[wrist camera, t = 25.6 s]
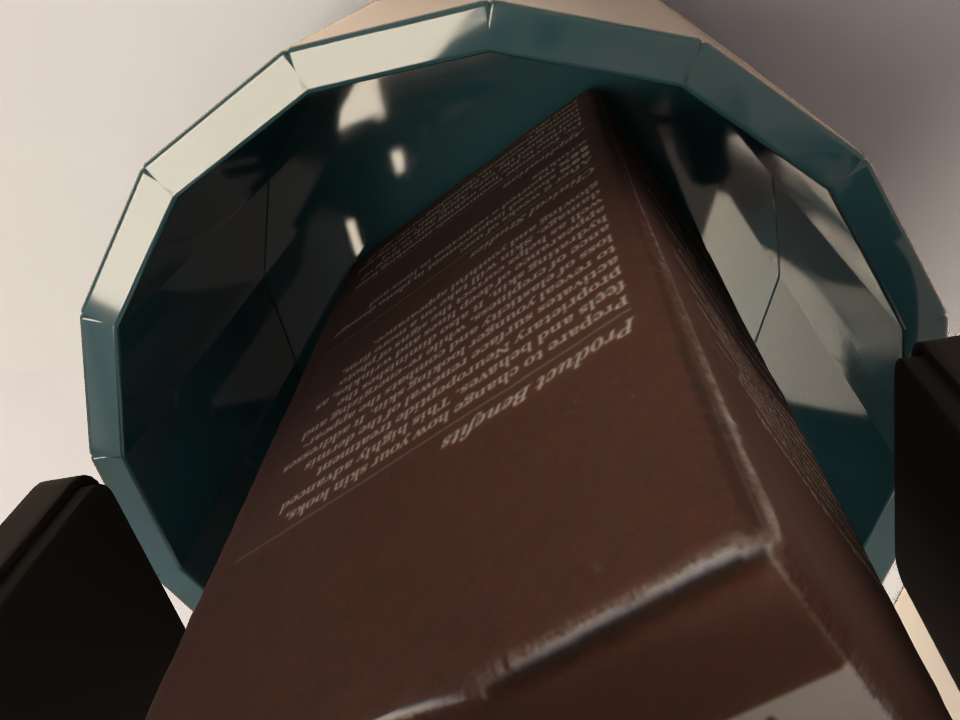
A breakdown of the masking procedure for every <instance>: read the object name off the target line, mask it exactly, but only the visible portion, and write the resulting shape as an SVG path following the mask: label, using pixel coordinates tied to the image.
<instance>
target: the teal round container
mask: <svg viewBox="0 0 960 720" xmlns="http://www.w3.org/2000/svg"><path fill="white" fill-rule="evenodd" d="M588 89H593V90H595V91H596V92H598V93H599V94H601V95H602V96H603V98H604V99H605V101H606V102H607V104H608V105H609V107H610V108H611V110H612V112H613V113H614V115H615V116H616V118H617V119H618V121H619V122H620V124H621V125H622V127H623V128H624V130H625V131H626V133H627V134H628V135H629V137H630V138H631V140H632V141H633V143H634V144H635V146H636V147H637V149H638V150H639V152H640V153H641V155H642V156H643V158H644V159H645V161H646V162H647V164H648V165H649V166H650V168H651V169H652V171H653V172H654V173H655V175H656V176H657V178H658V179H659V181H660V182H661V184H662V185H663V187H664V188H665V190H666V191H667V193H668V194H669V196H670V197H671V199H672V200H673V202H674V203H675V204H676V206H677V207H678V209H679V210H680V212H681V213H682V215H683V216H684V217H685V219H686V220H687V222H688V223H689V225H690V226H691V228H692V229H693V231H694V232H695V233H696V235H697V236H698V238H699V239H700V241H701V242H702V244H703V245H704V246H705V248H706V249H707V251H708V252H709V254H710V255H711V258H712V260H713V262H714V264H715V266H716V267H717V269H718V271H719V274H720V276H721V278H722V279H723V281H724V284H725V286H726V288H727V290H728V292H729V294H730V296H731V298H732V300H733V302H734V304H735V306H736V308H737V311H738V313H739V315H740V316H741V318H742V320H743V322H744V324H745V326H746V328H747V330H748V332H749V333H750V335H751V337H752V339H753V341H754V343H755V344H756V346H757V348H758V350H759V352H760V354H761V356H762V358H763V360H764V362H765V364H766V366H767V368H768V370H769V372H770V373H771V375H772V377H773V378H774V380H775V382H776V383H777V385H778V387H779V388H780V390H781V392H782V393H783V395H784V397H785V400H786V402H787V404H788V406H789V408H790V410H791V412H792V414H793V416H794V418H795V420H796V422H797V424H798V426H799V428H800V429H801V431H802V433H803V435H804V437H805V439H806V441H807V444H808V446H809V448H810V450H811V452H812V453H813V455H814V457H815V459H816V460H817V462H818V464H819V466H820V468H821V470H822V472H823V474H824V476H825V478H826V480H827V482H828V484H829V486H830V487H831V489H832V491H833V493H834V495H835V496H836V498H837V500H838V501H839V503H840V505H841V507H842V510H843V511H844V513H845V515H846V517H847V518H848V520H849V522H850V524H851V525H852V527H853V529H854V531H855V533H856V535H857V537H858V538H859V540H860V542H861V544H862V546H863V548H864V550H865V552H866V554H867V556H868V558H869V560H870V562H871V564H872V566H873V568H874V570H875V572H876V574H877V575H878V577H879V579H880V581H881V583H883V581H884V579H885V577H886V576H887V574H888V572H889V570H890V568H891V566H892V564H893V563H894V561H895V559H896V558H895V487H894V369H895V364H896V361H897V360H898V359H900V358H907V357H911V351H912V348H913V346H914V345H915V344H916V343H917V342H922V341H928V340H934V339H940V338H947V324H948V318H947V316H946V309H945V307H944V305H943V303H942V301H941V299H940V297H939V295H938V293H937V291H936V289H935V287H934V285H933V283H932V281H931V279H930V278H929V276H928V274H927V272H926V270H925V268H924V266H923V264H922V262H921V260H920V258H919V256H918V254H917V252H916V250H915V248H914V246H913V244H912V242H911V240H910V238H909V236H908V234H907V232H906V230H905V228H904V226H903V224H902V222H901V220H900V218H899V217H898V215H897V213H896V211H895V209H894V207H893V205H892V203H891V201H890V199H889V197H888V195H887V193H886V191H885V189H884V187H883V185H882V183H881V181H880V179H879V177H878V175H877V173H876V171H875V169H874V167H873V165H872V163H871V162H870V161H869V160H868V159H867V158H866V157H865V155H864V153H862V152H861V151H860V150H858V149H857V148H856V147H854V146H853V145H852V144H851V143H849V142H848V141H847V140H845V139H844V138H843V137H842V136H840V135H839V134H838V133H836V132H835V131H834V130H832V129H831V128H830V127H829V126H827V125H826V124H825V123H823V122H822V121H821V120H820V119H818V118H817V117H816V116H814V115H813V114H812V113H810V112H809V111H808V110H807V109H805V108H804V107H803V106H801V105H800V104H799V103H797V102H796V101H795V100H794V99H792V98H791V97H790V96H788V95H787V94H786V93H785V92H783V91H782V90H781V89H779V88H778V87H777V86H775V85H774V84H773V83H772V82H770V81H769V80H768V79H766V78H765V77H764V76H763V75H761V74H760V73H759V72H757V71H756V70H755V69H753V68H752V67H751V66H750V65H748V64H747V63H746V62H744V61H743V60H742V59H740V58H739V57H738V56H736V55H735V54H733V53H732V52H731V51H729V50H728V49H727V48H725V47H724V46H722V45H721V44H720V43H718V42H717V41H715V40H714V39H713V38H711V37H710V36H709V35H707V34H706V33H704V32H703V31H702V30H700V29H699V28H697V27H696V26H695V25H693V24H692V23H691V22H690V21H688V20H687V19H685V18H684V17H682V16H681V15H679V14H678V13H677V12H675V11H674V10H673V9H671V8H670V7H668V6H667V5H666V4H664V3H663V2H661V1H660V0H376V1H374V2H372V3H370V4H369V5H367V6H365V7H363V8H361V9H359V10H357V11H355V12H354V13H352V14H350V15H348V16H346V17H344V18H342V19H340V20H339V21H337V22H335V23H333V24H331V25H329V26H327V27H325V28H324V29H322V30H320V31H318V32H316V33H314V34H312V35H310V36H308V37H307V38H305V39H303V40H301V41H299V42H297V43H295V44H293V45H292V46H290V47H288V48H286V49H284V50H282V51H281V52H279V53H278V54H277V55H276V56H275V57H273V58H272V59H271V60H270V61H268V62H267V63H266V64H265V65H264V66H262V67H261V68H260V69H259V70H258V71H256V72H255V73H254V74H253V75H251V76H250V77H249V78H248V79H247V80H245V81H244V82H243V83H242V84H241V85H239V86H238V87H237V88H236V89H234V90H233V91H232V92H231V93H230V94H228V95H227V96H226V97H225V98H224V99H222V100H221V101H220V102H219V103H217V104H216V105H215V106H214V107H213V108H211V109H210V110H209V111H208V112H207V113H205V114H204V115H203V116H202V117H200V118H199V119H198V120H197V121H196V122H194V123H193V124H192V125H191V126H189V127H188V128H187V129H186V130H185V131H183V132H182V133H181V134H180V135H179V136H177V137H176V138H175V139H174V140H172V141H171V142H170V143H169V144H168V145H166V146H165V147H164V148H163V149H162V150H160V151H159V152H158V153H157V154H155V155H154V156H153V157H152V158H151V159H149V160H148V161H147V162H146V163H145V164H144V166H143V167H144V168H142V169H141V170H140V172H139V174H138V177H137V179H136V181H135V184H134V186H133V188H132V191H131V193H130V195H129V198H128V200H127V203H126V205H125V207H124V210H123V212H122V214H121V217H120V219H119V221H118V224H117V226H116V228H115V231H114V233H113V235H112V238H111V240H110V243H109V245H108V247H107V250H106V252H105V254H104V257H103V259H102V261H101V264H100V266H99V268H98V271H97V273H96V275H95V278H94V280H93V283H92V285H91V287H90V290H89V292H88V294H87V297H86V299H85V301H84V304H83V306H82V309H81V313H82V314H81V316H80V324H81V337H82V351H83V365H84V379H85V393H86V407H87V421H88V435H89V448H90V454H91V455H92V457H91V458H92V461H93V463H94V465H95V467H96V469H97V471H98V472H99V474H100V476H101V478H102V480H103V482H104V484H105V485H106V486H107V487H108V488H110V490H111V491H112V492H113V494H114V496H115V497H116V499H117V501H118V503H119V505H120V507H121V509H122V511H123V512H124V514H125V516H126V518H127V520H128V522H129V524H130V526H131V528H132V529H133V531H134V533H135V535H136V537H137V539H138V541H139V543H140V544H141V546H142V548H143V550H144V552H145V554H146V556H147V558H148V559H149V561H150V563H151V565H152V567H153V569H154V571H155V573H156V574H157V576H158V578H159V580H160V582H161V583H162V584H163V585H164V586H165V587H166V588H168V589H169V590H170V591H171V592H172V593H173V594H174V595H175V596H176V597H178V598H179V599H180V600H181V601H182V602H183V603H184V604H185V605H186V606H187V607H189V608H190V609H191V610H192V611H193V612H194V610H195V608H196V606H197V604H198V602H199V600H200V598H201V596H202V593H203V591H204V588H205V586H206V584H207V582H208V580H209V578H210V576H211V574H212V572H213V570H214V568H215V565H216V563H217V561H218V559H219V556H220V554H221V552H222V550H223V547H224V545H225V543H226V541H227V539H228V537H229V535H230V534H231V532H232V529H233V526H234V523H235V521H236V519H237V517H238V514H239V512H240V510H241V508H242V506H243V504H244V503H245V501H246V499H247V496H248V493H249V490H250V488H251V486H252V484H253V483H254V481H255V478H256V476H257V473H258V471H259V469H260V466H261V464H262V462H263V460H264V458H265V456H266V454H267V451H268V449H269V447H270V444H271V442H272V440H273V438H274V436H275V434H276V432H277V430H278V427H279V424H280V422H281V420H282V419H283V417H284V415H285V413H286V411H287V409H288V406H289V404H290V403H291V400H292V397H293V395H294V394H295V391H296V388H297V386H298V384H299V382H300V380H301V378H302V375H303V373H304V371H305V369H306V367H307V364H308V362H309V360H310V357H311V355H312V353H313V351H314V349H315V346H316V344H317V341H318V339H319V338H320V336H321V332H322V331H323V328H324V326H325V324H326V322H327V319H328V317H329V315H330V313H331V311H332V309H333V307H334V305H335V302H336V300H337V298H338V296H339V294H340V292H341V290H342V288H343V285H344V283H345V281H346V278H347V276H348V274H349V272H350V269H351V267H352V265H353V264H354V263H356V262H357V261H358V260H359V259H361V258H362V257H363V256H365V255H366V254H367V253H368V252H369V251H371V250H372V249H373V248H374V247H376V246H377V245H378V244H379V243H381V242H382V241H383V240H385V239H386V238H387V237H389V236H390V235H391V234H393V233H394V232H395V231H397V230H398V229H399V228H401V227H402V226H403V225H404V224H406V223H407V222H408V221H410V220H411V219H412V218H414V217H415V216H416V215H417V214H419V213H420V212H421V211H423V210H424V209H425V208H427V207H428V206H429V205H431V204H432V203H433V202H435V201H436V200H437V199H438V198H440V197H441V196H442V195H444V194H445V193H446V192H448V191H449V190H450V189H452V188H453V187H454V186H456V185H457V184H459V183H460V182H461V181H462V180H464V179H465V178H466V177H467V176H469V175H470V174H471V173H473V172H474V171H476V170H477V169H478V168H480V167H481V166H482V165H484V164H485V163H487V162H488V161H489V160H491V159H492V158H493V157H495V156H496V155H498V154H499V153H500V152H502V151H503V150H504V149H506V148H507V147H508V146H510V145H511V144H512V143H513V142H515V141H516V140H517V139H519V138H520V137H521V136H523V135H524V134H525V133H527V132H528V131H529V130H531V129H532V128H534V127H535V126H536V125H538V124H539V123H540V122H542V121H543V120H544V119H546V118H547V117H548V116H550V115H551V114H553V113H554V112H555V111H557V110H558V109H560V108H561V107H562V106H564V105H565V104H567V103H568V102H569V101H571V100H572V99H574V98H575V97H576V96H578V95H579V94H581V93H582V92H583V91H585V90H588Z"/></svg>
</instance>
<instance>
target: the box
mask: <svg viewBox="0 0 960 720" xmlns="http://www.w3.org/2000/svg"><path fill="white" fill-rule="evenodd" d="M145 720H953V719H952V718H951V716H950V714H949V712H948V710H947V708H946V706H945V704H944V702H943V700H942V698H941V696H940V693H939V691H938V689H937V687H936V685H935V683H934V681H933V680H932V678H931V676H930V674H929V672H928V671H927V669H926V667H925V665H924V663H923V662H922V660H921V658H920V656H919V654H918V652H917V651H916V649H915V647H914V645H913V643H912V641H911V639H910V637H909V635H908V633H907V631H906V629H905V627H904V625H903V623H902V621H901V619H900V617H899V615H898V613H897V611H896V609H895V607H894V606H893V604H892V602H891V600H890V598H889V596H888V594H887V593H886V591H885V589H884V587H883V585H882V583H881V581H880V579H879V577H878V575H877V574H876V572H875V570H874V568H873V566H872V564H871V562H870V560H869V558H868V556H867V554H866V552H865V550H864V548H863V546H862V544H861V542H860V540H859V538H858V537H857V535H856V533H855V531H854V529H853V527H852V525H851V524H850V522H849V520H848V518H847V517H846V515H845V513H844V511H843V510H842V507H841V505H840V503H839V501H838V500H837V498H836V496H835V495H834V493H833V491H832V489H831V487H830V486H829V484H828V482H827V480H826V478H825V476H824V474H823V472H822V470H821V468H820V466H819V464H818V462H817V460H816V459H815V457H814V455H813V453H812V452H811V450H810V448H809V446H808V444H807V441H806V439H805V437H804V435H803V433H802V431H801V429H800V428H799V426H798V424H797V422H796V420H795V418H794V416H793V414H792V412H791V410H790V408H789V406H788V404H787V402H786V400H785V397H784V395H783V393H782V392H781V390H780V388H779V387H778V385H777V383H776V382H775V380H774V378H773V377H772V375H771V373H770V372H769V370H768V368H767V366H766V364H765V362H764V360H763V358H762V356H761V354H760V352H759V350H758V348H757V346H756V344H755V343H754V341H753V339H752V337H751V335H750V333H749V332H748V330H747V328H746V326H745V324H744V322H743V320H742V318H741V316H740V315H739V313H738V311H737V308H736V306H735V304H734V302H733V300H732V298H731V296H730V294H729V292H728V290H727V288H726V286H725V284H724V281H723V279H722V278H721V276H720V274H719V271H718V269H717V267H716V266H715V264H714V262H713V260H712V258H711V255H710V254H709V252H708V251H707V249H706V248H705V246H704V245H703V244H702V242H701V241H700V239H699V238H698V236H697V235H696V233H695V232H694V231H693V229H692V228H691V226H690V225H689V223H688V222H687V220H686V219H685V217H684V216H683V215H682V213H681V212H680V210H679V209H678V207H677V206H676V204H675V203H674V202H673V200H672V199H671V197H670V196H669V194H668V193H667V191H666V190H665V188H664V187H663V185H662V184H661V182H660V181H659V179H658V178H657V176H656V175H655V173H654V172H653V171H652V169H651V168H650V166H649V165H648V164H647V162H646V161H645V159H644V158H643V156H642V155H641V153H640V152H639V150H638V149H637V147H636V146H635V144H634V143H633V141H632V140H631V138H630V137H629V135H628V134H627V133H626V131H625V130H624V128H623V127H622V125H621V124H620V122H619V121H618V119H617V118H616V116H615V115H614V113H613V112H612V110H611V108H610V107H609V105H608V104H607V102H606V101H605V99H604V98H603V96H602V95H601V94H599V93H598V92H596V91H595V90H593V89H588V90H585V91H583V92H582V93H581V94H579V95H578V96H576V97H575V98H574V99H572V100H571V101H569V102H568V103H567V104H565V105H564V106H562V107H561V108H560V109H558V110H557V111H555V112H554V113H553V114H551V115H550V116H548V117H547V118H546V119H544V120H543V121H542V122H540V123H539V124H538V125H536V126H535V127H534V128H532V129H531V130H529V131H528V132H527V133H525V134H524V135H523V136H521V137H520V138H519V139H517V140H516V141H515V142H513V143H512V144H511V145H510V146H508V147H507V148H506V149H504V150H503V151H502V152H500V153H499V154H498V155H496V156H495V157H493V158H492V159H491V160H489V161H488V162H487V163H485V164H484V165H482V166H481V167H480V168H478V169H477V170H476V171H474V172H473V173H471V174H470V175H469V176H467V177H466V178H465V179H464V180H462V181H461V182H460V183H459V184H457V185H456V186H454V187H453V188H452V189H450V190H449V191H448V192H446V193H445V194H444V195H442V196H441V197H440V198H438V199H437V200H436V201H435V202H433V203H432V204H431V205H429V206H428V207H427V208H425V209H424V210H423V211H421V212H420V213H419V214H417V215H416V216H415V217H414V218H412V219H411V220H410V221H408V222H407V223H406V224H404V225H403V226H402V227H401V228H399V229H398V230H397V231H395V232H394V233H393V234H391V235H390V236H389V237H387V238H386V239H385V240H383V241H382V242H381V243H379V244H378V245H377V246H376V247H374V248H373V249H372V250H371V251H369V252H368V253H367V254H366V255H365V256H363V257H362V258H361V259H359V260H358V261H357V262H356V263H354V264H353V265H352V267H351V269H350V272H349V274H348V276H347V278H346V281H345V283H344V285H343V288H342V290H341V292H340V294H339V296H338V298H337V300H336V302H335V305H334V307H333V309H332V311H331V313H330V315H329V317H328V319H327V322H326V324H325V326H324V328H323V331H322V332H321V336H320V338H319V339H318V341H317V344H316V346H315V349H314V351H313V353H312V355H311V357H310V360H309V362H308V364H307V367H306V369H305V371H304V373H303V375H302V378H301V380H300V382H299V384H298V386H297V388H296V391H295V394H294V395H293V397H292V400H291V403H290V404H289V406H288V409H287V411H286V413H285V415H284V417H283V419H282V420H281V422H280V424H279V427H278V430H277V432H276V434H275V436H274V438H273V440H272V442H271V444H270V447H269V449H268V451H267V454H266V456H265V458H264V460H263V462H262V464H261V466H260V469H259V471H258V473H257V476H256V478H255V481H254V483H253V484H252V486H251V488H250V490H249V493H248V496H247V499H246V501H245V503H244V504H243V506H242V508H241V510H240V512H239V514H238V517H237V519H236V521H235V523H234V526H233V529H232V532H231V534H230V535H229V537H228V539H227V541H226V543H225V545H224V547H223V550H222V552H221V554H220V556H219V559H218V561H217V563H216V565H215V568H214V570H213V572H212V574H211V576H210V578H209V580H208V582H207V584H206V586H205V588H204V591H203V593H202V596H201V598H200V600H199V602H198V604H197V606H196V608H195V610H194V612H193V613H192V615H191V617H190V620H189V622H188V625H187V627H186V630H185V632H184V635H183V637H182V639H181V642H180V644H179V646H178V648H177V651H176V653H175V655H174V657H173V660H172V662H171V663H170V665H169V667H168V669H167V671H166V673H165V675H164V677H163V679H162V681H161V684H160V686H159V688H158V690H157V693H156V695H155V697H154V699H153V702H152V704H151V706H150V709H149V711H148V714H147V716H146V718H145Z"/></svg>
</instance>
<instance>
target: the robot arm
mask: <svg viewBox="0 0 960 720" xmlns="http://www.w3.org/2000/svg"><path fill="white" fill-rule="evenodd" d="M894 487H895V558H896V564H897V568H898V572H899V575H900V578H901V580H902V583H903V585H904V587H905V589H906V591H907V593H908V595H909V597H910V599H911V600H912V602H913V604H914V606H915V608H916V610H917V612H918V614H919V616H920V618H921V619H922V621H923V623H924V625H925V627H926V629H927V631H928V633H929V635H930V637H931V639H932V640H933V642H934V644H935V646H936V648H937V650H938V652H939V654H940V656H941V658H942V660H943V661H944V663H945V665H946V667H947V669H948V671H949V673H950V675H951V677H952V679H953V680H954V682H955V684H956V686H957V688H958V690H959V692H960V335H959V336H953V337H947V338H940V339H934V340H928V341H922V342H917V343H916V344H915V345H914V346H913V348H912V351H911V357H907V358H900V359H898V360H897V361H896V364H895V369H894ZM185 630H186V629H185V627H184V625H183V623H182V621H181V620H180V618H179V616H178V614H177V612H176V610H175V608H174V606H173V605H172V603H171V601H170V599H169V597H168V595H167V593H166V591H165V590H164V588H163V586H162V584H161V582H160V580H159V578H158V576H157V574H156V573H155V571H154V569H153V567H152V565H151V563H150V561H149V559H148V558H147V556H146V554H145V552H144V550H143V548H142V546H141V544H140V543H139V541H138V539H137V537H136V535H135V533H134V531H133V529H132V528H131V526H130V524H129V522H128V520H127V518H126V516H125V514H124V512H123V511H122V509H121V507H120V505H119V503H118V501H117V499H116V497H115V496H114V494H113V492H112V491H111V490H110V488H108V487H107V486H106V485H102V484H99V482H98V481H97V480H95V479H94V478H93V477H91V476H87V475H81V476H75V477H69V478H62V479H56V480H50V481H45V482H41V483H39V484H38V485H36V486H35V487H34V488H33V489H32V490H31V491H30V492H29V493H28V495H27V496H26V497H25V498H24V499H23V500H22V501H21V502H20V504H19V505H18V506H17V507H16V508H15V509H14V510H13V512H12V513H11V514H10V515H9V516H8V517H7V518H6V519H5V521H4V522H3V523H2V524H1V525H0V720H145V718H146V716H147V714H148V711H149V709H150V706H151V704H152V702H153V699H154V697H155V695H156V693H157V690H158V688H159V686H160V684H161V681H162V679H163V677H164V675H165V673H166V671H167V669H168V667H169V665H170V663H171V662H172V660H173V657H174V655H175V653H176V651H177V648H178V646H179V644H180V642H181V639H182V637H183V635H184V632H185Z"/></svg>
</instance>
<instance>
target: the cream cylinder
mask: <svg viewBox="0 0 960 720" xmlns="http://www.w3.org/2000/svg"><path fill="white" fill-rule="evenodd" d="M894 607H895V609H896V611H897V613H898V615H899V617H900V619H901V621H902V623H903V625H904V627H905V629H906V631H907V633H908V635H909V637H910V639H911V641H912V643H913V645H914V647H915V649H916V651H917V652H918V654H919V656H920V658H921V660H922V662H923V663H924V665H925V667H926V669H927V671H928V672H929V674H930V676H931V678H932V680H933V681H934V683H935V685H936V687H937V689H938V691H939V693H940V696H941V698H942V700H943V702H944V704H945V706H946V708H947V710H948V712H949V714H950V716H951V718H952V719H953V720H960V692H959V690H958V688H957V686H956V684H955V682H954V680H953V679H952V677H951V675H950V673H949V671H948V669H947V667H946V665H945V663H944V661H943V660H942V658H941V656H940V654H939V652H938V650H937V648H936V646H935V644H934V642H933V640H932V639H931V637H930V635H929V633H928V631H927V629H926V627H925V625H924V623H923V621H922V619H921V618H920V616H919V614H918V612H917V610H916V608H915V606H914V604H913V602H912V600H911V599H910V597H909V595H908V593H907V591H906V589H905V587H904V588H903V590H902V592H901V594H900V596H899V597H898V599H897V601H896V603H895V605H894Z"/></svg>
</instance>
